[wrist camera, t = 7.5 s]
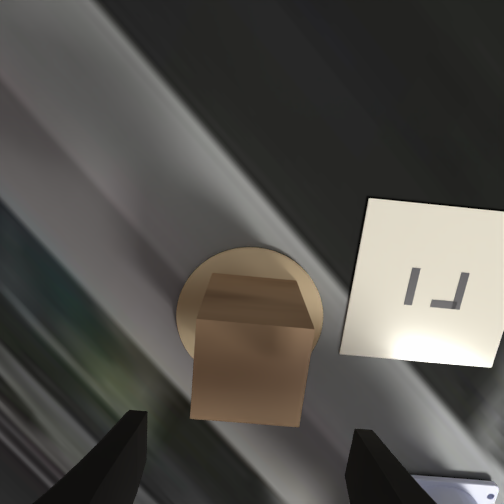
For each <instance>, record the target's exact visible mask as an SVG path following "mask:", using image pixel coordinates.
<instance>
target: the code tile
mask: <svg viewBox="0 0 504 504" xmlns="http://www.w3.org/2000/svg"><path fill="white" fill-rule="evenodd" d="M503 331H504V212H502V211H493V210H483V209H473V208H463V207H453V206H443V205H433V204H423V203H414V202H404V201H394V200H384V199H374V198H369V199H368V204H367V209H366V214H365V220H364V225H363V230H362V236H361V241H360V246H359V252H358V257H357V262H356V267H355V273H354V278H353V283H352V289H351V294H350V299H349V304H348V310H347V315H346V320H345V326H344V331H343V336H342V342H341V347H340V352H339V354H343V355H354V356H366V357H377V358H389V359H400V360H411V361H423V362H434V363H446V364H457V365H468V366H480V367H492V364H493V361H494V358H495V355H496V352H497V349H498V346H499V343H500V340H501V337H502V334H503Z"/></svg>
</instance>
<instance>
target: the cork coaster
mask: <svg viewBox="0 0 504 504" xmlns="http://www.w3.org/2000/svg"><path fill="white" fill-rule="evenodd" d="M212 273H220V274H231V275H241V276H252V277H263V278H274V279H285V280H296V281H297V283H298V286H299V289H300V291H301V294H302V297H303V299H304V302H305V305H306V307H307V310H308V312H309V315H310V318H311V320H312V323H313V326H314V328H315V332H314V338H313V344H312V350H311V352H312V351H313V349H314V347H315V346H316V344H317V342H318V339H319V337H320V334H321V330H322V324H323V307H322V302H321V298H320V295H319V292H318V290H317V288H316V286H315V284H314V282H313V281H312V279H311V278H310V276H309V275H308V274H307V272H306V271H305V270H304V269H303V268H302V267H301V266H300V265H298V264H297V263H296V262H295V261H293V260H292V259H290V258H289V257H287V256H285V255H283V254H281V253H278V252H276V251H273V250H269V249H265V248H259V247H241V248H235V249H230V250H226V251H224V252H221V253H218V254H216V255H214V256H213V257H211V258H209V259H208V260H206V261H205V262H203V263H202V264H201V265H200V266H199V267H198V268H196V269H195V270H194V272H193V273H192V274H191V275H190V277H189V278H188V280H187V281H186V283H185V285H184V287H183V289H182V291H181V293H180V296H179V300H178V303H177V311H176V322H177V328H178V332H179V335H180V338H181V341H182V343H183V345H184V347H185V348H186V350H187V351H188V353H189V354H190V356H191V357H192V358H193V359H194V346H195V330H196V318H197V315H198V312H199V309H200V306H201V304H202V301H203V298H204V295H205V292H206V289H207V286H208V284H209V281H210V278H211V275H212Z"/></svg>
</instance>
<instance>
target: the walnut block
mask: <svg viewBox="0 0 504 504" xmlns="http://www.w3.org/2000/svg"><path fill="white" fill-rule="evenodd" d="M314 332H315V328H314V326H313V323H312V320H311V318H310V315H309V312H308V310H307V307H306V305H305V302H304V299H303V297H302V294H301V291H300V289H299V286H298V283H297V281H296V280H285V279H274V278H263V277H252V276H241V275H231V274H220V273H212V275H211V278H210V281H209V284H208V286H207V289H206V292H205V295H204V298H203V301H202V304H201V306H200V309H199V312H198V315H197V318H196V330H195V346H194V363H193V380H192V397H191V413H190V419H201V420H213V421H226V422H238V423H251V424H263V425H276V426H288V427H299V424H300V418H301V412H302V406H303V400H304V393H305V387H306V381H307V375H308V369H309V363H310V356H311V350H312V344H313V338H314Z"/></svg>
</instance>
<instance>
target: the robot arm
mask: <svg viewBox="0 0 504 504" xmlns="http://www.w3.org/2000/svg"><path fill="white" fill-rule="evenodd" d="M146 454H147V411H136V410H129V411H128V412H126V414H125V415H124V416H123V417H122V418H121V419H120V420H119V421H118V422H117V424H116V425H115V426H114V427H113V428H112V429H111V430H110V431H109V432H108V433H107V434H106V435H105V436H104V438H103V439H102V440H101V441H100V442H99V443H98V444H97V445H96V446H95V447H94V448H93V449H92V450H91V451H90V452H89V453H88V454H87V455H86V456H85V457H84V458H83V459H82V460H81V461H80V462H79V463H78V464H77V465H76V466H74V467H73V468H72V469H71V470H70V471H69V472H68V473H67V474H66V475H65V476H64V477H63V478H62V479H60V480H59V481H58V482H57V483H56V484H55V485H54V486H53V487H52V488H50V489H49V490H48V491H47V492H46V493H45V494H43V495H42V496H41V497H40V498H39V499H38V500H36V501H35V502H34V503H33V504H133V502H134V499H135V496H136V494H137V491H138V487H139V484H140V480H141V477H142V473H143V470H144V466H145V463H146ZM345 479H346V484H347V489H348V495H349V499H350V504H494V503H495V500H496V498H497V495H498V492H499V487H498V486H497V484H496V483H495V482H493V481H485V480H472V479H459V478H446V477H433V476H421V475H410V474H409V473H408V471H407V470H406V469H405V468H404V467H403V466H402V464H401V463H400V462H399V461H398V460H397V459H396V457H395V456H394V455H393V454H392V453H391V452H390V450H389V449H388V448H387V447H386V446H385V444H384V443H383V442H382V441H381V440H380V439H379V437H378V436H377V435H376V434H375V433H374V432H373V430H365V429H355V431H354V435H353V440H352V444H351V449H350V454H349V458H348V463H347V468H346V472H345Z"/></svg>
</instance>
